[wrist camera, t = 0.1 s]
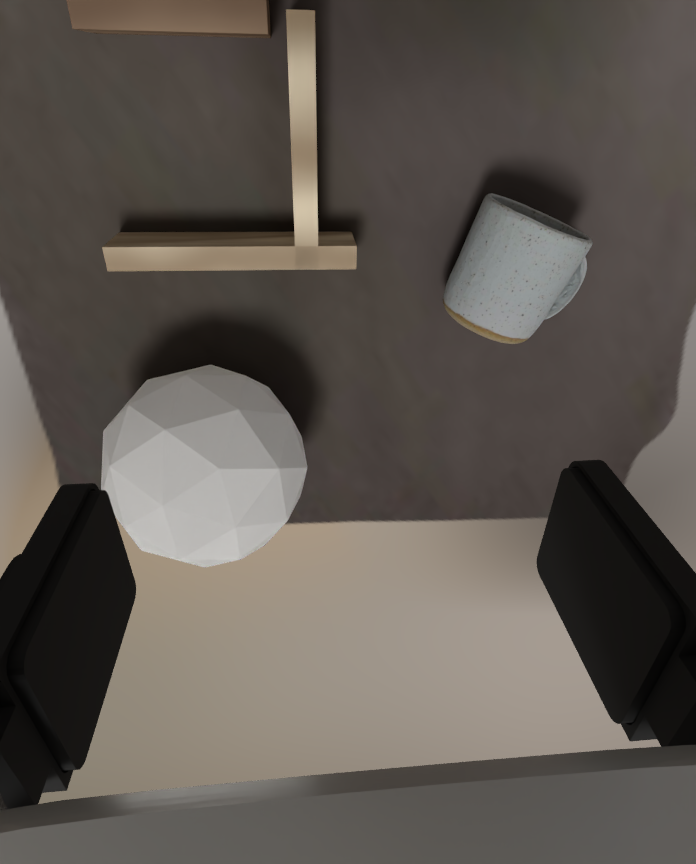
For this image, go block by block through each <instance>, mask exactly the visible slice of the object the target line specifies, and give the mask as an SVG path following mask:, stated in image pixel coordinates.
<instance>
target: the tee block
mask: <svg viewBox="0 0 696 864" xmlns="http://www.w3.org/2000/svg"><path fill="white" fill-rule="evenodd" d="M66 1H67V5H68V10H69V14H70V19H71V24H72V28H73V29H76V30H81V31H86V32H91V33H96V34H135V35H174V36H213V37H252V38H271V34H270V15H269V0H66Z"/></svg>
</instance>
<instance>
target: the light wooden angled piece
mask: <svg viewBox="0 0 696 864" xmlns="http://www.w3.org/2000/svg"><path fill="white" fill-rule="evenodd" d="M286 21H287V48H288V75H289V102H290V129H291V155H292V182H293V209H294V232H119V233H118V234H117V235H116V236H115V237H113V238H112V239H111V240H110V241H109V242H108V243H107V244H105V245H104V246H103V247H102V249H103V253H104V257H105V262H106V266H107V271H202V270H317V269H356V257H357V245H356V243H355V240H354V237H353V235H352V232H318V194H317V123H316V51H315V10H290V9H286Z"/></svg>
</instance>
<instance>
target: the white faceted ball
mask: <svg viewBox="0 0 696 864" xmlns="http://www.w3.org/2000/svg"><path fill="white" fill-rule="evenodd" d="M306 471H307V462H306V457H305V451H304V446H303V441H302V436H301V434H300V432H299V431H298V429H297V427H296V425H295V423H294V421H293V420H292V418H291V416H290V414H289V413H288V412H287V410H286V409H285V408H284V406H283V405H282V404H281V402H280V401H279V400H278V399H277V397H276V396H275V395H274V393H273V392H272V391H271V389H270V388H269V387H267V386H265V385H263V384H261V383H259V382H257V381H255V380H253V379H251V378H249V377H247V376H245V375H242V374H239V373H236V372H233V371H230V370H226V369H223V368H220V367H217V366H214V365H207V366H202V367H198V368H194V369H190V370H186V371H182V372H177V373H173V374H169V375H165V376H161V377H157V378H152V379H148V380H146V381H145V383H144V384H143V385H142V386H141V387H140V388H139V390H138V391H137V392H136V393H135V394H134V395H133V397H132V398H131V399H130V400H129V401H128V403H127V404H126V405H125V406H124V407H123V408H122V410H121V411H120V412H119V413H118V414H117V415H116V417H115V418H114V419H113V420H112V421H111V422H110V424H109V425H108V426H107V427H106V428H105V429H104V431H103V452H102V479H101V490H105V491H106V492H107V493H108V495H109V498H110V502H111V505H112V508H113V511H114V515H115V517H116V518H117V520H118V521H119V522H120V524H121V525H122V526H123V527H124V529H125V530H126V531H127V533H128V534H129V535H130V537H131V538H132V539H133V541H134V542H135V543H136V544H137V546H138V547H139V548H140V550H142V551H145V552H149V553H152V554H157V555H160V556H164V557H168V558H171V559H175V560H179V561H182V562H186V563H190V564H194V565H197V566H201V567H209V566H214V565H218V564H223V563H227V562H231V561H236V560H241V559H242V558H244V557H246V556H247V555H249V554H251V553H253V552H254V551H256V550H258V549H259V548H261V547H263V546H265V545H266V543H267V542H268V541H269V540H270V539H271V538H272V537H273V536H274V535H275V534H276V533H277V532H278V531H279V530H280V528H281V527H282V526H283V525H284V524H285V523H286V522H287V521H288V519H289V517H290V515H291V513H292V511H293V509H294V507H295V505H296V503H297V501H298V500H299V498H300V496H301V492H302V488H303V484H304V479H305V475H306Z"/></svg>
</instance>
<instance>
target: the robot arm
mask: <svg viewBox="0 0 696 864" xmlns="http://www.w3.org/2000/svg"><path fill="white" fill-rule="evenodd" d="M537 568H538V572H539V575H540V577H541V579H542V581H543V583H544V585H545V587H546V589H547V591H548V593H549V595H550V597H551V599H552V601H553V603H554V605H555V607H556V609H557V611H558V613H559V615H560V617H561V619H562V621H563V623H564V625H565V627H566V629H567V631H568V633H569V636H570V638H571V639H572V641H573V644H574V645H575V648H576V650H577V651H578V653H579V656H580V658H581V660H582V662H583V664H584V666H585V668H586V670H587V672H588V674H589V676H590V677H591V680H592V682H593V684H594V686H595V688H596V690H597V692H598V694H599V696H600V698H601V700H602V701H603V704H604V706H605V708H606V710H607V712H608V714H609V716H610V717H611V719H612V720H613V721H614V722H616V723H618V724H621V725H622V727H623V729H624V731H625V732H626V734H627V736H628V739H629V740H630V741H639V740H650V739H658V741H659V743H660V745H661V747H649V748H633V749H618V750H603V751H591V752H579V753H567V754H555V755H542V756H530V757H518V758H506V759H494V760H482V761H471V762H459V763H447V764H436V765H424V766H413V767H403V768H402V767H401V768H390V769H379V770H368V771H356V772H345V773H334V774H323V775H311V776H301V777H289V778H279V779H268V780H257V781H247V782H236V783H226V784H215V785H204V786H193V787H183V788H172V789H161V790H152V791H143V792H134V793H125V794H116V795H107V796H99V797H90V798H80V799H71V800H62V801H56V802H49V803H43V804H38V803H39V800H40V797H41V794H42V793H44V792H55V791H66V790H67V788H68V785H69V782H70V778H71V775H72V772H73V770H78V769H80V768H81V767H82V766H83V764H84V762H85V760H86V757H87V753H88V750H89V747H90V743H91V741H92V737H93V734H94V731H95V728H96V724H97V721H98V718H99V715H100V711H101V708H102V705H103V701H104V698H105V695H106V692H107V688H108V685H109V682H110V679H111V675H112V672H113V669H114V666H115V662H116V659H117V656H118V652H119V649H120V646H121V643H122V639H123V636H124V633H125V630H126V627H127V623H128V620H129V617H130V614H131V610H132V607H133V604H134V600H135V595H136V584H135V580H134V576H133V573H132V570H131V566H130V563H129V560H128V557H127V553H126V550H125V547H124V544H123V541H122V537H121V535H120V531H119V528H118V524H117V521H116V518H115V515H114V511H113V508H112V505H111V502H110V498H109V495H108V493H107V492H106V491H105V490H99V489H98V487H97V486H96V484H93V483H89V484H67V485H63V486H61V487H60V489H59V490H58V492H57V493H56V495H55V497H54V499H53V501H52V502H51V504H50V506H49V507H48V509H47V511H46V513H45V514H44V517H43V518H42V519H41V521H40V523H39V525H38V526H37V528H36V530H35V532H34V533H33V535H32V537H31V539H30V541H29V542H28V544H27V545H26V547H25V549H24V551H23V552H22V554H19V555H18V556H16V557H15V558H13V560H12V561H11V562H10V564H9V565H8V567H7V568H6V570H5V572H4V573H3V575H2V577H1V579H0V864H696V573H695V572H694V571H693V569H692V568H691V567H690V566H689V565H688V563H687V562H686V561H685V560H684V558H683V557H682V556H681V555H680V554H679V552H678V551H677V550H676V549H675V547H674V546H673V545H672V544H671V543H670V541H669V540H668V539H667V538H666V536H665V535H664V534H663V533H662V532H661V530H660V529H659V528H658V527H657V525H656V524H655V523H654V522H653V521H652V519H651V518H650V517H649V516H648V514H647V513H646V512H645V511H644V509H643V508H642V507H641V506H640V505H639V504H638V502H637V501H636V500H635V499H634V497H633V496H632V495H631V494H630V492H629V491H628V490H627V489H626V487H625V486H624V485H623V484H622V483H621V481H620V480H619V479H618V478H617V476H616V475H615V474H614V473H613V472H612V470H611V469H610V468H609V467H608V465H607V464H606V463H605V462H604V461H601V460H587V461H574V462H572V463H571V464H570V465H569V468H565V469H563V471H562V472H561V475H560V479H559V482H558V486H557V489H556V493H555V496H554V500H553V503H552V507H551V510H550V514H549V517H548V521H547V525H546V528H545V531H544V535H543V539H542V542H541V546H540V549H539V553H538V556H537Z"/></svg>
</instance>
